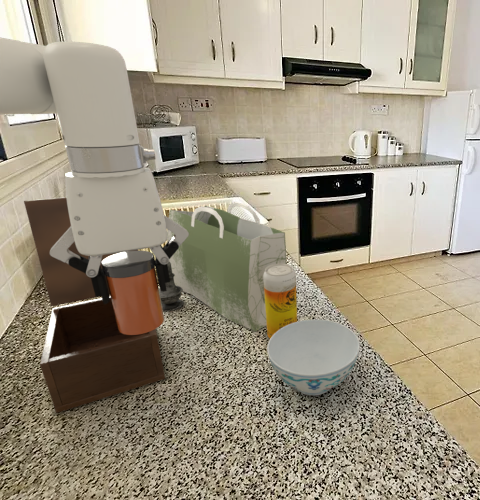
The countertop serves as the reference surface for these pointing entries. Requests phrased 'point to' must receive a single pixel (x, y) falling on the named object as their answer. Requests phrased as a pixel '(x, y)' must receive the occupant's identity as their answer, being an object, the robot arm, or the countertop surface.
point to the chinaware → (313, 354)
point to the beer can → (280, 297)
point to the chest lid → (55, 271)
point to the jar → (134, 291)
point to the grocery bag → (226, 261)
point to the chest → (95, 355)
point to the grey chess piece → (171, 293)
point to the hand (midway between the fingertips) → (135, 292)
